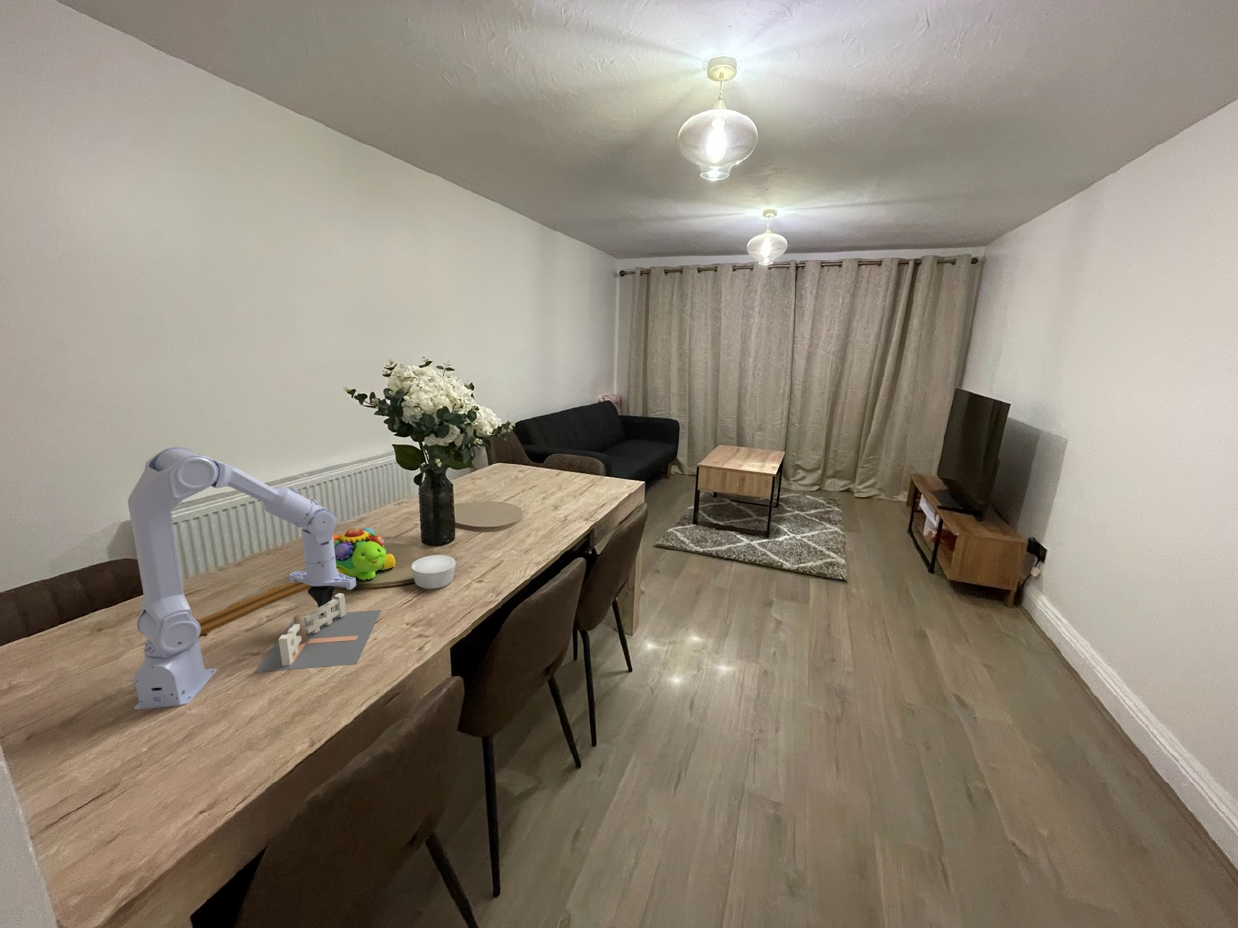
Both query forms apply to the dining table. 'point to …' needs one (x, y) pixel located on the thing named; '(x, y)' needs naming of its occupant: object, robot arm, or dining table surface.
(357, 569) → the turtle toy
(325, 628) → the card
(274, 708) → the dining table surface
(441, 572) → the ramekin
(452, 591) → the dining table surface
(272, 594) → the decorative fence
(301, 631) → the fence fixed
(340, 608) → the fence gate
